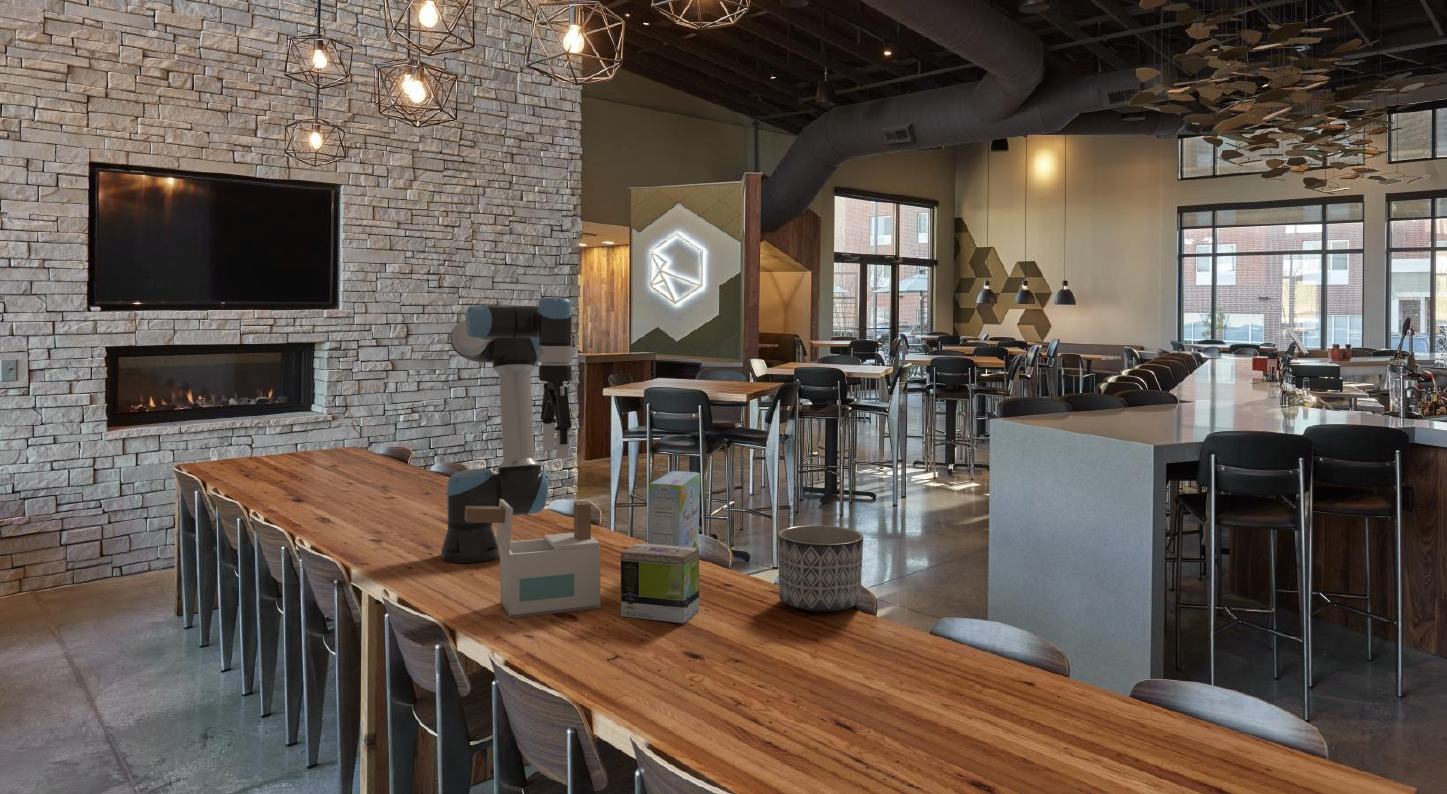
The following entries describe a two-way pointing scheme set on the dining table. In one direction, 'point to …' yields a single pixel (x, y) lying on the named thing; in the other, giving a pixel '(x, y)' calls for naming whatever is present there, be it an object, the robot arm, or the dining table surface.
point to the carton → (552, 571)
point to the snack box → (674, 509)
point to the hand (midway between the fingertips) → (555, 454)
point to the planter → (820, 567)
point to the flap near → (494, 520)
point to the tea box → (660, 582)
